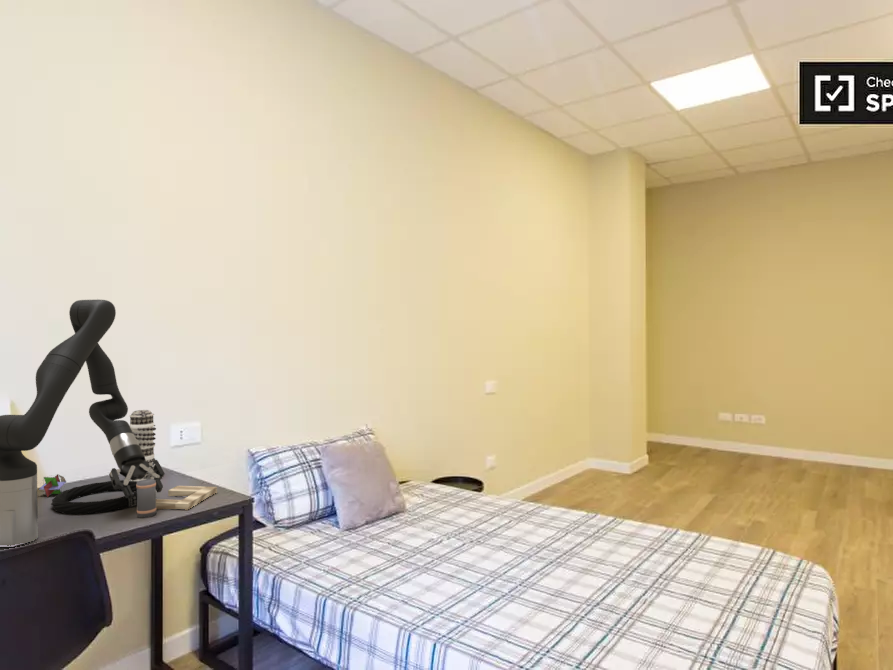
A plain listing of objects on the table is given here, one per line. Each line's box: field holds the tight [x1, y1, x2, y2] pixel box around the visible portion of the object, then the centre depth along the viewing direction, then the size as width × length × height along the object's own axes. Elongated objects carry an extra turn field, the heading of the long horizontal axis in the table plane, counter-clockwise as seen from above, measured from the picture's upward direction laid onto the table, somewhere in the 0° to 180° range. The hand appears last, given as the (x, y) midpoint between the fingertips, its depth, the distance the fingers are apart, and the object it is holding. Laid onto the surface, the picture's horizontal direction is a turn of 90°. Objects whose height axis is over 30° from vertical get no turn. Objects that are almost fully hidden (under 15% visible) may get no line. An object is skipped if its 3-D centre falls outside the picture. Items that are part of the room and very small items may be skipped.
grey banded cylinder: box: [136, 479, 157, 518], centre depth 169 cm, size 5×5×10 cm
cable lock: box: [50, 479, 138, 515], centre depth 182 cm, size 28×4×30 cm
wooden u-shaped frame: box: [156, 485, 218, 511], centre depth 183 cm, size 18×14×2 cm
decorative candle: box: [129, 409, 157, 481], centre depth 209 cm, size 9×9×25 cm
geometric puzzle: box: [37, 473, 67, 498], centre depth 188 cm, size 7×7×8 cm
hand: (146, 494), depth 170 cm, fingers open, 8 cm apart
